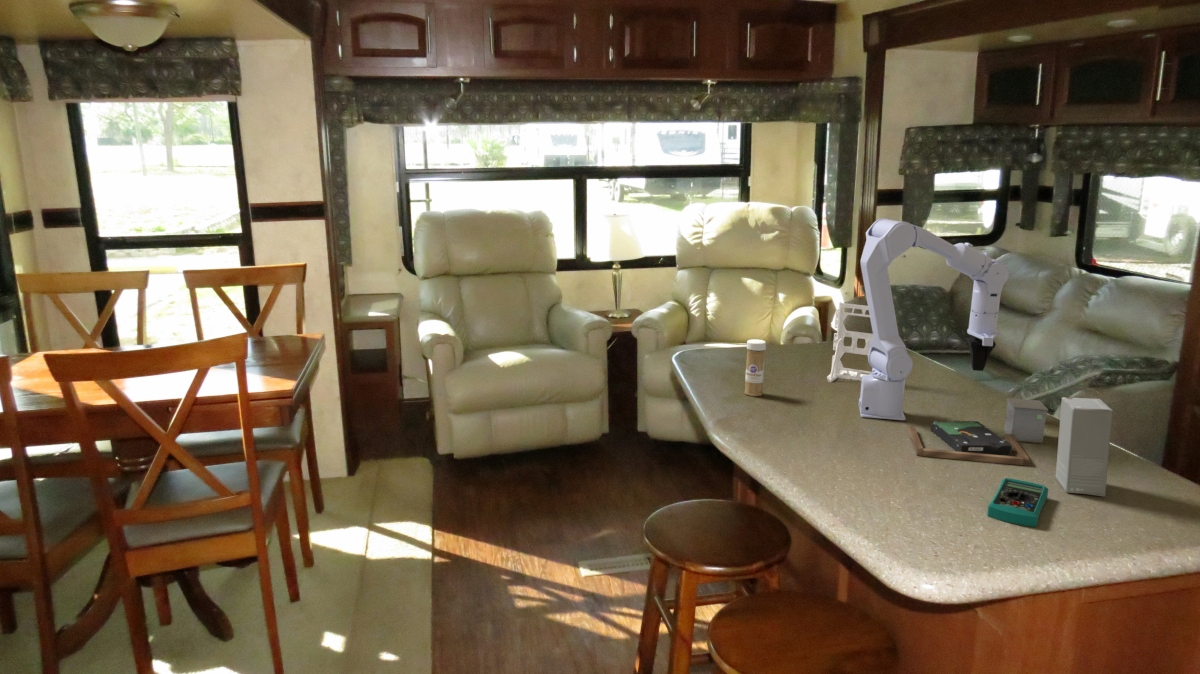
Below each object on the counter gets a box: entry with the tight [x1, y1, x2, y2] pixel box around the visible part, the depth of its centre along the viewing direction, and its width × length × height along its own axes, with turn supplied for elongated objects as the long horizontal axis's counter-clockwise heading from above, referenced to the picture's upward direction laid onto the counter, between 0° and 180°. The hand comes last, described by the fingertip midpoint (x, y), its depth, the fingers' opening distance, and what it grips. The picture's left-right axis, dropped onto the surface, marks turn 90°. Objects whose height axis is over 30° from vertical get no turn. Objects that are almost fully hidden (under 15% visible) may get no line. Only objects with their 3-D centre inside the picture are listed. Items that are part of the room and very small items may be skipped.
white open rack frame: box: [826, 302, 873, 383], centre depth 213 cm, size 14×14×20 cm
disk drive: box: [930, 420, 1012, 456], centre depth 170 cm, size 10×3×15 cm
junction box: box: [1004, 397, 1049, 444], centre depth 172 cm, size 6×6×7 cm
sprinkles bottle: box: [743, 338, 767, 397], centre depth 200 cm, size 5×5×14 cm
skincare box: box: [1054, 396, 1114, 497], centre depth 146 cm, size 8×7×16 cm
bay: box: [907, 425, 1031, 467], centre depth 166 cm, size 20×15×1 cm
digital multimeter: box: [986, 477, 1049, 528], centre depth 139 cm, size 7×15×3 cm, turn 145°
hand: (977, 369), depth 188 cm, fingers closed
